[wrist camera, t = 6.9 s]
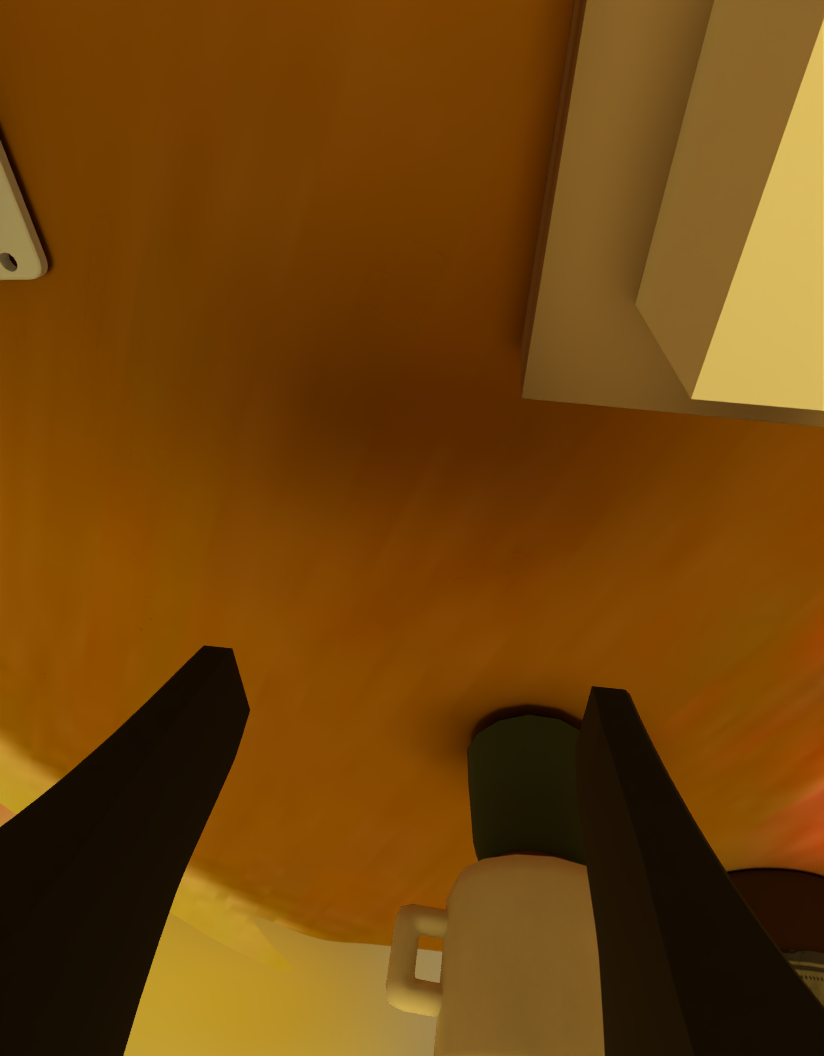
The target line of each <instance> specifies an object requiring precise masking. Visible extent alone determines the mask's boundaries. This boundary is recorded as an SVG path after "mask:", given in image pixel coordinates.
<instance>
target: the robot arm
mask: <svg viewBox="0 0 824 1056" xmlns="http://www.w3.org/2000/svg"><path fill="white" fill-rule="evenodd" d="M9 254H10V255H11V256H13V257H14V259H15V260H16V262H17V267H16V266H15V265H13V264H12V262H11V261H10V258H9ZM47 269H48V264H47V259H46V256H45V254H44V251H43V249H42V246H41V244H40V241H39V238H38V236H37V233H36V231H35V228H34V226H33V223H32V220H31V218H30V215H29V213H28V210H27V208H26V205H25V202H24V200H23V197H22V195H21V192H20V190H19V187H18V184H17V182H16V179H15V177H14V174H13V172H12V169H11V166H10V164H9V161H8V159H7V156H6V154H5V151H4V148H3V146H2V143H1V141H0V280H26V279H35V278H39V277H41V276H44V275H45V273H46V272H47ZM249 712H250V708H249V705H248V701H247V698H246V694H245V691H244V687H243V684H242V681H241V677H240V674H239V670H238V667H237V663H236V660H235V656H234V653H233V649H232V648H223V647H213V646H203V647H202V648H201V649H200V650H199V651H198V652H197V653H196V654H195V655H194V656H193V657H191V658H190V659H189V660H188V661H187V662H186V663H185V664H184V665H183V666H182V667H181V668H180V669H179V670H178V671H177V672H176V673H175V674H174V675H173V676H172V677H171V678H170V679H169V680H168V681H167V682H166V683H165V684H164V685H163V686H162V687H161V688H160V689H159V690H158V691H157V692H156V693H155V694H154V695H153V696H152V697H151V698H150V699H149V700H148V701H147V702H146V703H145V704H144V705H143V706H142V707H141V708H140V709H139V710H138V711H137V712H136V713H134V714H133V715H132V716H131V717H130V718H129V719H128V720H127V721H126V722H125V723H124V724H123V725H122V726H121V727H120V728H119V729H118V730H117V731H116V732H114V733H113V734H112V735H111V736H110V737H109V738H108V739H107V740H106V741H105V742H103V743H102V744H101V745H100V746H99V747H98V748H97V749H95V750H94V751H93V752H92V753H91V754H90V755H89V756H88V757H86V758H85V759H84V760H83V761H82V762H81V763H80V764H78V765H77V766H76V767H75V768H74V769H73V770H72V771H70V772H69V773H68V774H67V775H66V776H65V777H63V778H62V779H61V780H60V781H59V782H57V783H56V784H55V785H54V786H52V787H51V788H50V789H49V790H48V791H46V792H45V793H44V794H43V795H41V796H40V797H39V798H38V799H36V800H35V801H34V802H33V803H31V804H30V805H29V806H27V807H26V808H25V809H24V810H22V811H21V812H20V813H18V814H17V815H16V816H15V817H13V818H12V819H11V820H9V821H8V822H7V823H5V824H4V825H2V826H1V827H0V1056H123V1055H124V1051H125V1048H126V1044H127V1041H128V1038H129V1035H130V1031H131V1028H132V1025H133V1021H134V1018H135V1015H136V1011H137V1008H138V1005H139V1001H140V998H141V995H142V992H143V989H144V986H145V983H146V980H147V977H148V974H149V971H150V968H151V964H152V961H153V958H154V955H155V952H156V949H157V946H158V943H159V940H160V937H161V934H162V931H163V929H164V926H165V923H166V920H167V917H168V914H169V911H170V909H171V906H172V903H173V900H174V897H175V894H176V891H177V889H178V886H179V884H180V882H181V879H182V877H183V874H184V872H185V869H186V867H187V865H188V862H189V860H190V858H191V856H192V853H193V851H194V849H195V847H196V845H197V842H198V840H199V838H200V836H201V833H202V831H203V829H204V827H205V825H206V822H207V820H208V818H209V816H210V814H211V811H212V809H213V807H214V805H215V802H216V800H217V798H218V796H219V793H220V791H221V789H222V787H223V784H224V782H225V780H226V778H227V775H228V773H229V771H230V769H231V766H232V764H233V762H234V759H235V757H236V754H237V750H238V747H239V744H240V741H241V738H242V735H243V732H244V728H245V725H246V722H247V718H248V715H249ZM575 763H576V788H577V805H578V812H579V819H580V826H581V833H582V840H583V847H584V854H585V860H586V867H587V874H588V881H589V887H590V894H591V901H592V908H593V914H594V921H595V928H596V936H597V945H598V954H599V967H600V983H601V998H602V1014H603V1032H604V1051H605V1056H824V1006H823V1005H822V1003H821V1002H820V1001H819V1000H818V998H817V997H816V996H815V995H814V993H813V992H812V991H811V990H810V988H809V987H808V986H807V985H806V983H805V982H804V981H803V979H802V978H801V977H800V976H799V974H798V973H797V972H796V970H795V969H794V967H793V966H792V965H791V963H790V962H789V961H788V959H787V958H786V957H785V955H784V954H783V953H782V951H781V950H780V948H779V947H778V946H777V944H776V943H775V942H774V940H773V939H772V938H771V936H770V935H769V933H768V932H767V931H766V929H765V928H764V926H763V925H762V923H761V922H760V921H759V919H758V918H757V916H756V915H755V913H754V912H753V911H752V909H751V908H750V906H749V905H748V903H747V902H746V901H745V899H744V898H743V896H742V895H741V893H740V892H739V890H738V889H737V887H736V886H735V884H734V883H733V881H732V880H731V878H730V876H729V875H728V873H727V872H726V870H725V869H724V867H723V866H722V864H721V862H720V861H719V859H718V858H717V856H716V855H715V853H714V851H713V850H712V848H711V847H710V845H709V843H708V842H707V840H706V839H705V837H704V835H703V834H702V832H701V830H700V829H699V827H698V825H697V824H696V822H695V820H694V819H693V817H692V815H691V813H690V812H689V810H688V808H687V806H686V804H685V803H684V801H683V799H682V797H681V796H680V794H679V792H678V790H677V789H676V787H675V785H674V783H673V781H672V780H671V778H670V776H669V774H668V772H667V770H666V769H665V767H664V765H663V763H662V761H661V759H660V757H659V755H658V753H657V751H656V749H655V747H654V745H653V743H652V741H651V739H650V737H649V735H648V733H647V731H646V729H645V727H644V725H643V723H642V721H641V719H640V716H639V714H638V712H637V710H636V708H635V705H634V703H633V701H632V698H631V696H630V694H629V693H628V692H627V691H626V690H623V689H613V688H604V687H594V686H592V689H591V692H590V696H589V699H588V703H587V707H586V710H585V714H584V718H583V721H582V725H581V728H580V732H579V736H578V739H577V743H576V746H575Z"/></svg>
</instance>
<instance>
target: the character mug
mask: <svg viewBox="0 0 824 1056" xmlns="http://www.w3.org/2000/svg"><path fill="white" fill-rule="evenodd" d="M579 732H580V730H578V729H576V728H574V727H572V726H571V725H569V724H567V723H565V722H564V721H562V720H560V719H554V718H548V717H541V716H534V715H525V716H520V717H515V718H510V719H505V720H500V721H498V722H496V723H494V724H493V725H491V726H489V727H488V728H486V729H484V730H483V731H481V732H479V733H478V734H477V735H476V736H475V738H474V740H473V741H472V743H471V744H470V746H469V747H468V749H467V754H468V783H469V795H470V807H471V820H472V832H473V843H474V847H475V852H476V856H477V858H478V862H476V863H474V864H472V865H470V866H468V867H466V868H464V869H463V870H462V871H461V873H460V875H459V877H458V878H457V880H456V882H455V884H454V886H453V888H452V890H451V892H450V894H449V896H448V898H447V903H446V910H444V909H438V908H433V907H427V906H421V905H416V904H411V905H406V906H401V908H400V910H399V912H398V914H397V917H396V919H395V925H394V932H393V939H392V946H391V953H390V960H389V967H388V974H387V981H386V991H387V1000H388V1003H390V1004H391V1005H393V1006H394V1007H396V1008H397V1009H399V1010H401V1011H406V1012H411V1013H416V1014H422V1015H427V1016H432V1017H437V1023H436V1036H435V1047H434V1056H605V1051H604V1032H603V1014H602V998H601V983H600V967H599V954H598V945H597V936H596V928H595V921H594V914H593V908H592V901H591V894H590V887H589V881H588V874H587V867H586V860H585V854H584V847H583V840H582V833H581V826H580V819H579V812H578V805H577V788H576V763H575V746H576V743H577V739H578V736H579ZM420 935H427V936H433V937H438V938H443V939H444V940H443V952H442V965H441V976H440V983H435V982H430V981H425V980H420V979H416V978H415V965H416V956H417V947H418V938H419V936H420Z"/></svg>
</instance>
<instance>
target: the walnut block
mask: <svg viewBox="0 0 824 1056" xmlns="http://www.w3.org/2000/svg"><path fill="white" fill-rule="evenodd" d="M713 3H714V0H574V4H573V11H572V17H571V24H570V30H569V37H568V43H567V49H566V56H565V62H564V69H563V75H562V82H561V88H560V95H559V101H558V108H557V114H556V121H555V127H554V134H553V140H552V147H551V153H550V160H549V166H548V173H547V179H546V186H545V192H544V199H543V205H542V211H541V218H540V224H539V231H538V237H537V244H536V250H535V257H534V263H533V270H532V276H531V283H530V289H529V296H528V302H527V309H526V315H525V322H524V328H523V335H522V341H521V348H520V350H521V398H524V399H535V400H545V401H556V402H566V403H577V404H587V405H598V406H608V407H619V408H629V409H640V410H650V411H661V412H671V413H682V414H692V415H703V416H713V417H724V418H734V419H745V420H755V421H766V422H776V423H787V424H797V425H808V426H818V427H824V411H821V410H810V409H799V408H788V407H776V406H765V405H754V404H742V403H731V402H720V401H708V400H697V399H691V398H690V396H689V395H688V393H687V391H686V389H685V388H684V386H683V384H682V383H681V381H680V379H679V378H678V376H677V374H676V373H675V371H674V369H673V367H672V366H671V364H670V362H669V361H668V359H667V357H666V356H665V354H664V352H663V351H662V349H661V347H660V345H659V344H658V342H657V340H656V339H655V337H654V335H653V334H652V332H651V330H650V328H649V327H648V325H647V323H646V322H645V320H644V318H643V317H642V315H641V313H640V312H639V310H638V308H637V306H636V305H635V304H636V300H637V296H638V292H639V288H640V285H641V281H642V277H643V273H644V269H645V265H646V261H647V258H648V254H649V250H650V246H651V242H652V238H653V234H654V231H655V227H656V223H657V219H658V215H659V211H660V207H661V204H662V200H663V196H664V192H665V188H666V184H667V180H668V177H669V173H670V169H671V165H672V161H673V157H674V153H675V150H676V146H677V142H678V138H679V134H680V130H681V126H682V123H683V119H684V115H685V111H686V107H687V103H688V99H689V96H690V92H691V88H692V84H693V80H694V76H695V72H696V69H697V65H698V61H699V57H700V53H701V49H702V46H703V42H704V38H705V34H706V30H707V26H708V22H709V19H710V15H711V11H712V7H713Z"/></svg>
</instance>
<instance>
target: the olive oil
mask: <svg viewBox="0 0 824 1056" xmlns="http://www.w3.org/2000/svg"><path fill="white" fill-rule="evenodd" d="M728 875H729V876H730V878H731V880H732V881H733V883H734V884H735V886H736V887H737V889H738V890H739V892H740V893H741V895H742V896H743V898H744V899H745V901H746V902H747V903H748V905H749V906H750V908H751V909H752V911H753V912H754V913H755V915H756V916H757V918H758V919H759V921H760V922H761V923H762V925H763V926H764V928H765V929H766V931H767V932H768V933H769V935H770V936H771V938H772V939H773V940H774V942H775V943H776V944H777V946H778V947H779V948H780V950H781V951H782V953H783V954H784V955H785V957H786V958H787V959H788V961H789V962H790V963H791V965H792V966H793V967H794V969H795V970H796V972H797V973H798V974H799V976H800V977H801V978H802V979H803V981H804V982H805V983H806V985H807V986H808V987H809V988H810V990H811V991H812V992H813V993H814V995H815V996H816V997H817V998H818V1000H819V1001H820V1002H821V1003H822V1005H823V1006H824V878H821V877H818V876H814V875H810V874H805V873H799V872H792V871H781V870H753V871H742V872H735V873H730V874H728Z"/></svg>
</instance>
